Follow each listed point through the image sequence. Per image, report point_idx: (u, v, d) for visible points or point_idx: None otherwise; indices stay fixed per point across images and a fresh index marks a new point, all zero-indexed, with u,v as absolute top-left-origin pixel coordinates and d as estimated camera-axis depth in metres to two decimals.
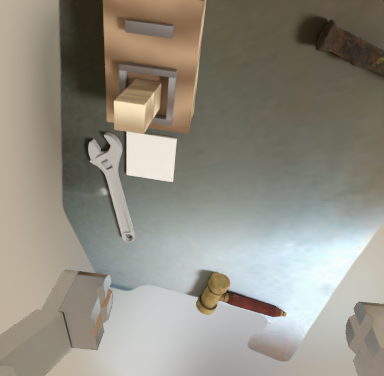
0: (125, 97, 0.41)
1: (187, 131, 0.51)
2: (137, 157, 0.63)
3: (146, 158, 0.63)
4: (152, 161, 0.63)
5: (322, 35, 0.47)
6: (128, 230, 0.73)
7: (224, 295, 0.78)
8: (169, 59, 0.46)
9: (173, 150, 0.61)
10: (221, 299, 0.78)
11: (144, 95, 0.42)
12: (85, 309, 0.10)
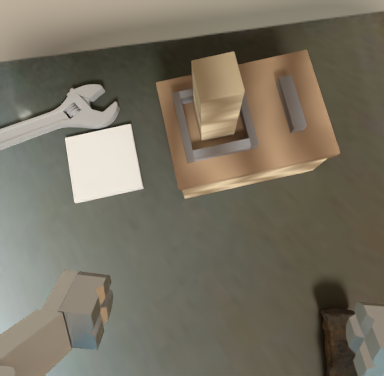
0: None
1: (181, 186, 0.36)
2: (97, 145, 0.45)
3: (99, 157, 0.45)
4: (98, 166, 0.45)
5: (339, 310, 0.38)
6: None
7: None
8: (264, 136, 0.37)
9: (124, 189, 0.44)
10: None
11: None
12: (85, 309, 0.10)
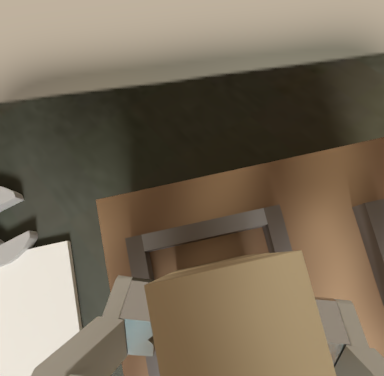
0: None
1: None
2: (5, 282, 0.25)
3: (7, 306, 0.25)
4: (5, 323, 0.24)
5: None
6: None
7: None
8: None
9: None
10: None
11: None
12: (146, 316, 0.10)
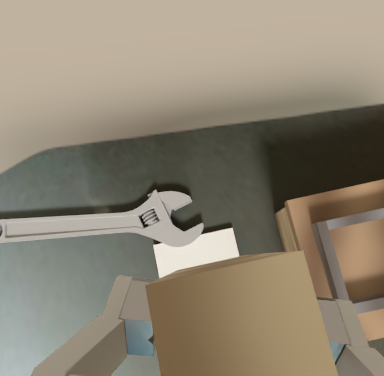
0: None
1: None
2: (193, 255, 0.37)
3: None
4: None
5: None
6: (9, 233, 0.39)
7: None
8: None
9: None
10: None
11: None
12: (145, 316, 0.10)
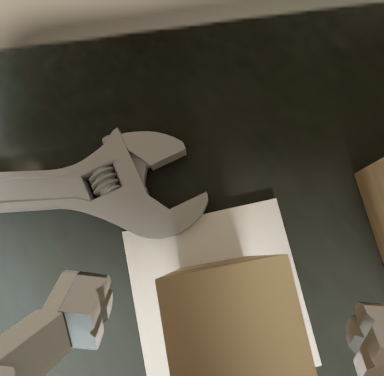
0: None
1: None
2: (200, 252, 0.19)
3: None
4: None
5: None
6: None
7: None
8: None
9: None
10: None
11: None
12: (85, 309, 0.10)
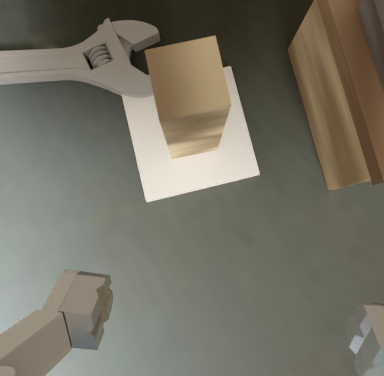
0: None
1: None
2: None
3: None
4: None
5: None
6: None
7: None
8: None
9: (228, 177, 0.26)
10: None
11: None
12: (85, 309, 0.10)
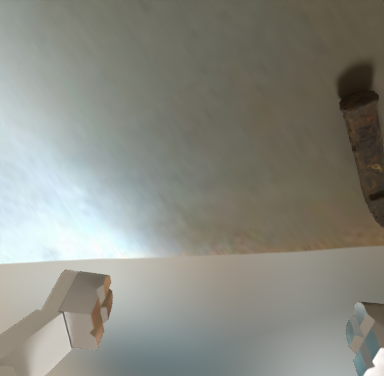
0: None
1: None
2: None
3: None
4: None
5: (358, 99, 0.37)
6: None
7: None
8: None
9: None
10: None
11: None
12: (85, 309, 0.10)
